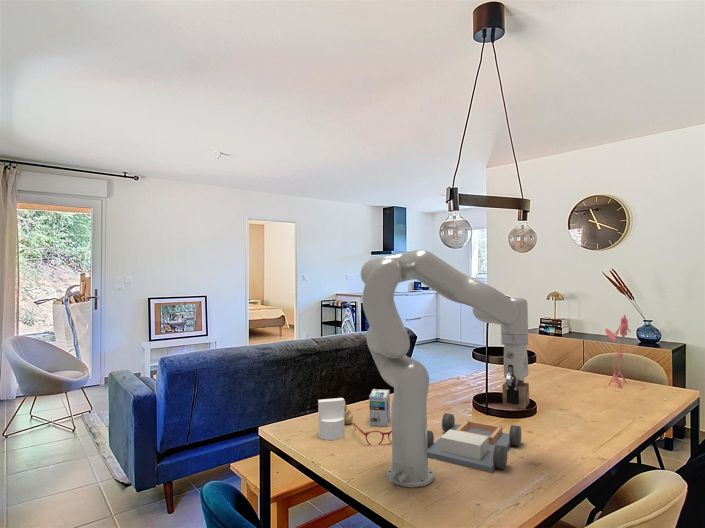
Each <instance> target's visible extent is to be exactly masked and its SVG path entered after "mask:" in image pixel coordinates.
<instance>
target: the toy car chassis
mask: <svg viewBox="0 0 705 528" xmlns="http://www.w3.org/2000/svg"><path fill="white" fill-rule="evenodd" d="M441 428H442V431H443V432H444V434H442V435H441V436H440V437H439V438H438V439H437V440H436V441H434V440H435V438H434V435H435V434H434V432H433V431H432V430H428V429H427V452H428V458H430V459H434V460H438V461H441V462H447V463H450V464H455V465H459V466H461V467H467V468H470V469H475V470H479V471H483V472H487V473H490V474H493V472H494V471H495V469H496V468H497V469H499V470H500V469H501V470H505V469H506V467H507V463H508V451H509V449H510V447H511V446H516V447H520V446H521V443H522V442H521V441H522V428H521V426H520V425H514V424H511V425H510V428H509V433H506V432H503V426H500V425H495V424H489V423H483V422H479V421H473V420H465V421H464V422H463V423H462V424H459V423H455V416H454V414H452V413H444V414H443V416H442V419H441Z"/></svg>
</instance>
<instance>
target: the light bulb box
mask: <svg viewBox="0 0 705 528" xmlns="http://www.w3.org/2000/svg"><path fill="white" fill-rule="evenodd" d="M390 392H391V391H390V389H376V388H373V389H372V390H371V393H370V394H369V396H368V398H369V399H368V400H369V401H368V402H369V403H368V404H369V405H368V407H369V426H373V427H388V425H389V422H390V419H391V406H390V405H391V403H390V401H391V400H390V398H391V397H390V394H391V393H390Z"/></svg>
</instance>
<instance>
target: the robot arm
mask: <svg viewBox="0 0 705 528" xmlns="http://www.w3.org/2000/svg"><path fill="white" fill-rule="evenodd" d="M360 278H361V281H362V282H363V283H364V287H363V291H362V296H361V297H362V301H361V302H362V308H363V312H364V315H365V318H366V320H367V323H368V325H369V327H368V328H367V331H366V336H365V338H366V344H367V347H368V349H369V352H370V354H371V356H372V359H373V360H374V363H375V366H376V368H377V371H378V372H379V374H380V376H381V378H382V379H383V381H384V382H385V383H386V384H387V385H389V386H390V387H392V388H393V395H392V401H391V431H392V432H391V442H392V443H391V450H392V451H391V459H392V460H391V461H392V462H391V463H392V465H390V466H389V467H388V468H387V469H386V476H385V477H386V481H387V482H389V483H393V484H394V483H395V485H398V486H400V487H406V488H421V487H425V486H427V485H429V484H432V483H433V481H434V479H435V478H434V477H435V476H434V471H433V469H432V468H430V467H429V466H428V465H429V461H428V458H429V457H428V452H427V430H428V416H427V414H428V411H427V409H428V408H427V405H428V404H427V403H428V393H429V388H430V375H429V372H428V370H427V368H426V367H425V365H423V364H422V363H421V361H418V360H417V359H414V358H413V357H412V358H411V357H410V356H407V354H408V352H409V350H410V345H411V342H410V340H411V339H410V337H409V334H408V332H407V330H406V327H405V326H404V323H403V321H402V319H401V317H400V313H399V312H398V309H397V307H396V302H395V291H396V289H397V287H398V285H399V284H400V283H404V282H407V281H412V280H416V281H418V282H420V283H421V284H423V285H424V286H426V287H428V288H429V289H431V290H433V291H434V292H435V293H437V294H439V295H440V296H442V297H443V298H445V299H447V300H449V301H452V302H455V303H458V304H461V305H462V304H463V305H466V306H469V307H471V308H472V314H473V315H474V317H475V318H476V319H477V320H479V321H480V322H483V323H487V324H494V325H500V341H501V342H500V344H501V345H503V377H504V378H505V382H507V383H506V384H507V387H506V388H507V403H510V404H516V405H518V404H519V390H517V386H518V380H519V381H520V382H523V383H525V378H527V377H528V376H529V358H528V349H527V346H529V312H528V311H529V309H528V308H529V307H528V301H527V300H526V299H525V298H523V297H508V296H507V295H505V294H504V293H503V292H501V291H500V290H498V289H497V288H496V287H493V286H491V285H489V284H487V283H484V282H483V281H480V280H478V279H476V278H474V277H471V276H470V275H466V274H465V273H463V272H461V271H460V270H458V269H457V268H455V267H454V266H452V265H450V264H449V263H448V262H446V261H445V260H443V259H442V258H440V257H439V256H437V255H436V254H433V253H432V252H431V251H429V250H426V249H416V250H409V251H405V252H401V253H398V254H397V253H396V254H394V255H389V256H383V257H379V258H374V259H370V260H368V261H366V262H365V263H364V264H363V266H362V267H361V270H360ZM512 381H513V382H512ZM514 382H515V385H514Z"/></svg>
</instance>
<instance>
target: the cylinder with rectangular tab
mask: <svg viewBox="0 0 705 528" xmlns="http://www.w3.org/2000/svg"><path fill="white" fill-rule="evenodd" d="M317 401H318V403H317V405H318V407H317V408H318V410H317V411H318V414H317V415H318V418H317V420H318V438H319V439H322V440H324V441H325V440H326V441H337V440H336V439H338V440H341V439H342V437H343V438H344V437H345V432H346V431H345V421H344V401H345V399H344V398H343V397H337V398H325V399H324V398H323V399H317ZM340 438H341V439H340Z"/></svg>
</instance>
